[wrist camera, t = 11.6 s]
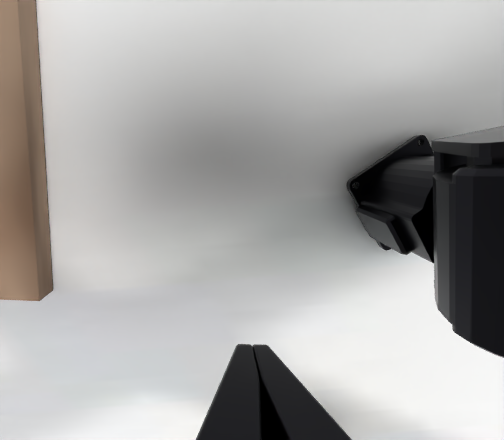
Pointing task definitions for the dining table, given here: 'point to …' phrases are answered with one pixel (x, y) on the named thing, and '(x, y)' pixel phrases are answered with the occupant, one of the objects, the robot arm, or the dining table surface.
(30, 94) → the wooden block stand
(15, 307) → the dining table surface
